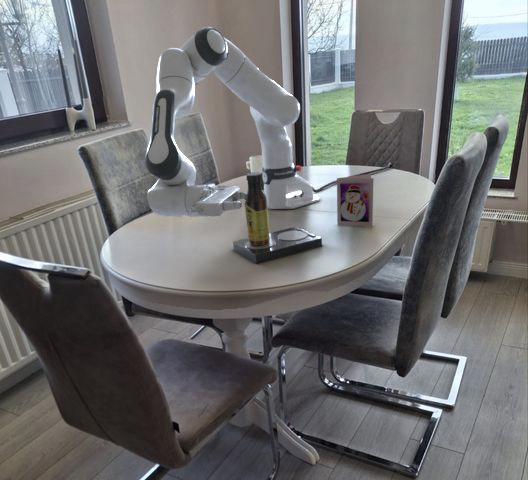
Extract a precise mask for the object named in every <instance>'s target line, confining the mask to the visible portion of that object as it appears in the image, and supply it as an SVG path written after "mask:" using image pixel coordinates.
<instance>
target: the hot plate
mask: <svg viewBox="0 0 528 480" xmlns="http://www.w3.org/2000/svg"><path fill="white" fill-rule="evenodd" d="M269 235H270V237H269V243H268V244H266V245H260V246H253V245H251V244H250V243H249V239H248V237H247V238H243V239H240V240H236V241H233V242H232V248H233V251H235V252H236V253H237V254H240V255H241V256H243V257H244V258H246V259H248V260H249V261H251V262H253V263H254V264H260V263H264V262H267V261H271V260H275V259H279V258H282V257H286V256H290V255H293V254H297V253H302V252H305V251H308V250H312V249H315V248H320V247H322V246H323V239H322V237H321V236H318V235H317V234H315V233H313V232H310V231H308V230H306V229H303V228H301V227H297V226H293V227H289V228H285V229H280V230H277V231H272V232H269Z"/></svg>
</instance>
